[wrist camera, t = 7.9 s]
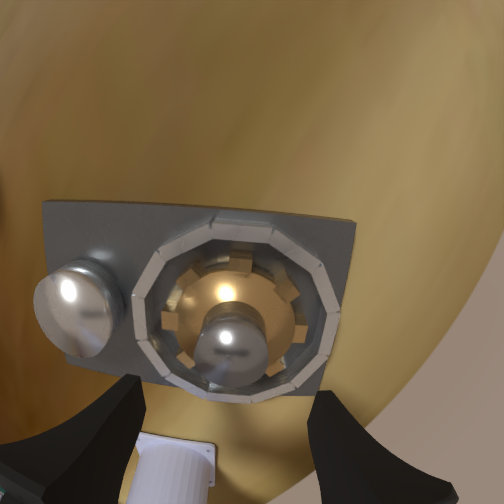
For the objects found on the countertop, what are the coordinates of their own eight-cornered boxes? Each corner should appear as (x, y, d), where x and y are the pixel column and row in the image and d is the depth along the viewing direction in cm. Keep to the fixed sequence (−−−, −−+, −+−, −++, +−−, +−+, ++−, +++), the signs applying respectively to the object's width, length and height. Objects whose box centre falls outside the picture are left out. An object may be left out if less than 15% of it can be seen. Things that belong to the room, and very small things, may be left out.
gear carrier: (314, 387, 21) (323, 423, 17) (72, 356, 20) (50, 384, 16) (350, 219, 17) (377, 234, 13) (50, 199, 16) (13, 209, 12)
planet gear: (290, 373, 19) (298, 419, 15) (169, 361, 19) (153, 405, 14) (314, 258, 17) (335, 289, 12) (168, 243, 16) (142, 269, 12)
